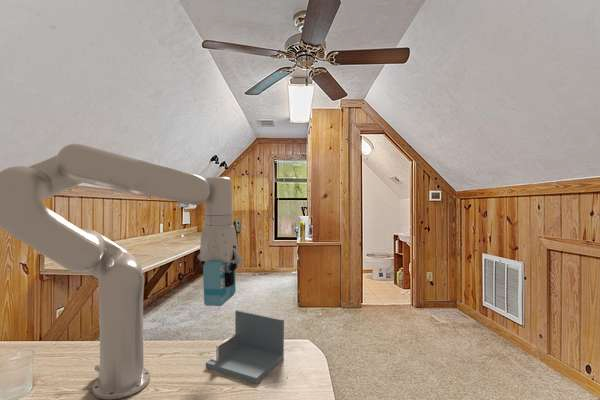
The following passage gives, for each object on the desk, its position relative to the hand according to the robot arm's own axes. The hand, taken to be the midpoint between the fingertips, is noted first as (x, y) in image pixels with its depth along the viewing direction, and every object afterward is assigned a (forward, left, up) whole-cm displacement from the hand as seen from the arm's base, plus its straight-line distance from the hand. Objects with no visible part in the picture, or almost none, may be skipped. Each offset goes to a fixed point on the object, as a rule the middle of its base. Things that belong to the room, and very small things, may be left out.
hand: (220, 284), depth 95 cm
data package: (0, 0, -5) cm, 5 cm away
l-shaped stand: (+8, +2, -22) cm, 23 cm away
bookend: (+1, +1, -20) cm, 20 cm away
